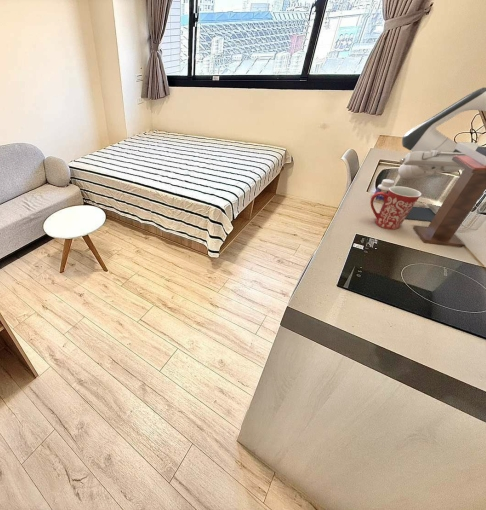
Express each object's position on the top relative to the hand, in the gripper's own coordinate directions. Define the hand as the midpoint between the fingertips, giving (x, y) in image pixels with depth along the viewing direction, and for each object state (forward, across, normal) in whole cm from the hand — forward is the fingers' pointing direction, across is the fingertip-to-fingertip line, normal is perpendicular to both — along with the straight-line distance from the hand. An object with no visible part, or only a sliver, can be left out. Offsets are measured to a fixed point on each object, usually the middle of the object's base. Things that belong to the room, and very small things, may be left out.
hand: (455, 153), depth 93 cm
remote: (+11, 0, +4) cm, 11 cm away
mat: (-14, 0, +20) cm, 24 cm away
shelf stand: (+2, 0, +29) cm, 29 cm away
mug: (-4, -14, +26) cm, 30 cm away
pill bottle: (-22, -10, +15) cm, 29 cm away
